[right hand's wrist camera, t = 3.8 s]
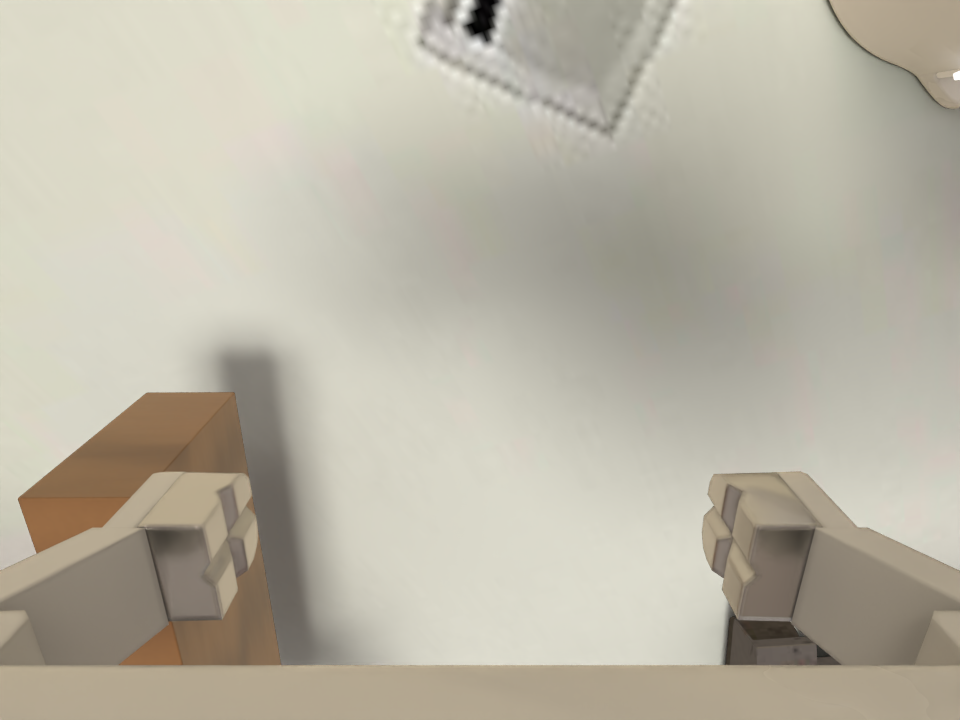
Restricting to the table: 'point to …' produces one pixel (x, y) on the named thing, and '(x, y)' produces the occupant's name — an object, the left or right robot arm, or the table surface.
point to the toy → (770, 645)
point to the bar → (121, 472)
